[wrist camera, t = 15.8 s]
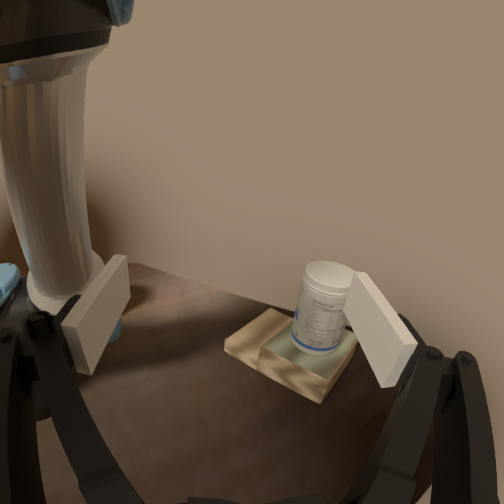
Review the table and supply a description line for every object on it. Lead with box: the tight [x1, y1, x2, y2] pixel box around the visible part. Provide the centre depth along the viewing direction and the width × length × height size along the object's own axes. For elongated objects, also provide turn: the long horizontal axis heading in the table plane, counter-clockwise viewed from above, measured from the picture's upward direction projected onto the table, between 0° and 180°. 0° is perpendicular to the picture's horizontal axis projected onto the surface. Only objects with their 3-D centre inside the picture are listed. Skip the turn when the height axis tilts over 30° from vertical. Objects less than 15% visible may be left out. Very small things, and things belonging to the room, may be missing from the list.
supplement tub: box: [291, 261, 354, 355], centre depth 50 cm, size 10×10×15 cm
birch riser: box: [224, 308, 358, 404], centre depth 56 cm, size 22×16×6 cm
